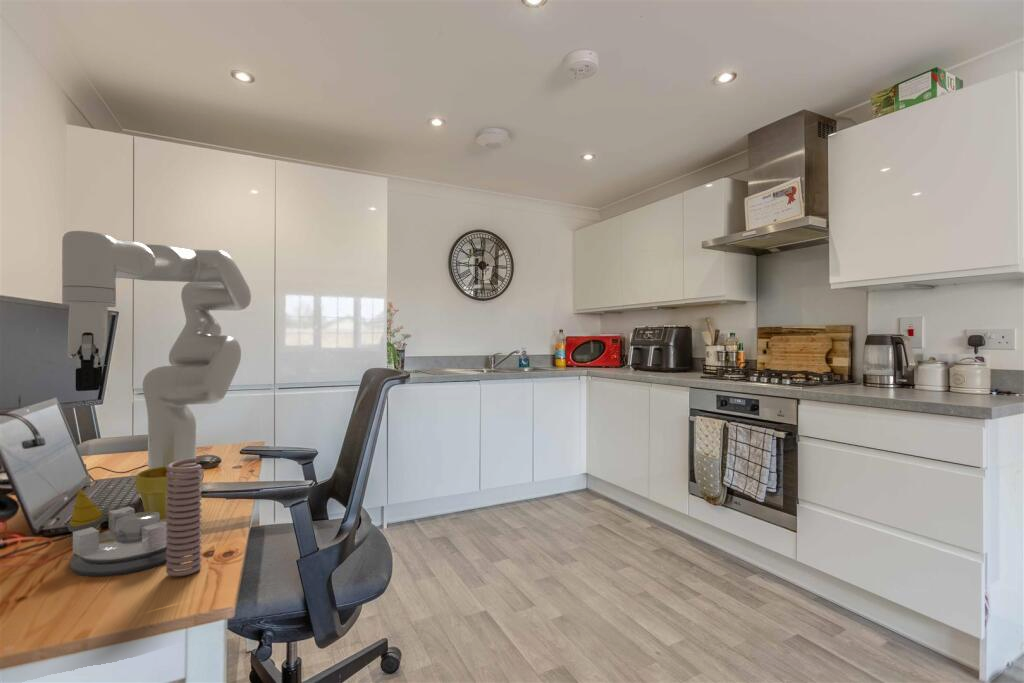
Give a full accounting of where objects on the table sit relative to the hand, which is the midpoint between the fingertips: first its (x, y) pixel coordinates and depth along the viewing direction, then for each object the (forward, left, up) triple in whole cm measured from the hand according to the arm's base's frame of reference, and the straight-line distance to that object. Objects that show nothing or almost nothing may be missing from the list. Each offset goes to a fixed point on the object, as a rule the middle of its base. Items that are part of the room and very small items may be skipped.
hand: (89, 388), depth 87 cm
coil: (+28, +13, -28) cm, 42 cm away
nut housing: (+14, +7, -28) cm, 32 cm away
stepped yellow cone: (0, 0, -28) cm, 29 cm away
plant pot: (-4, +12, -28) cm, 31 cm away
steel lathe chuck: (+14, +7, -26) cm, 31 cm away
